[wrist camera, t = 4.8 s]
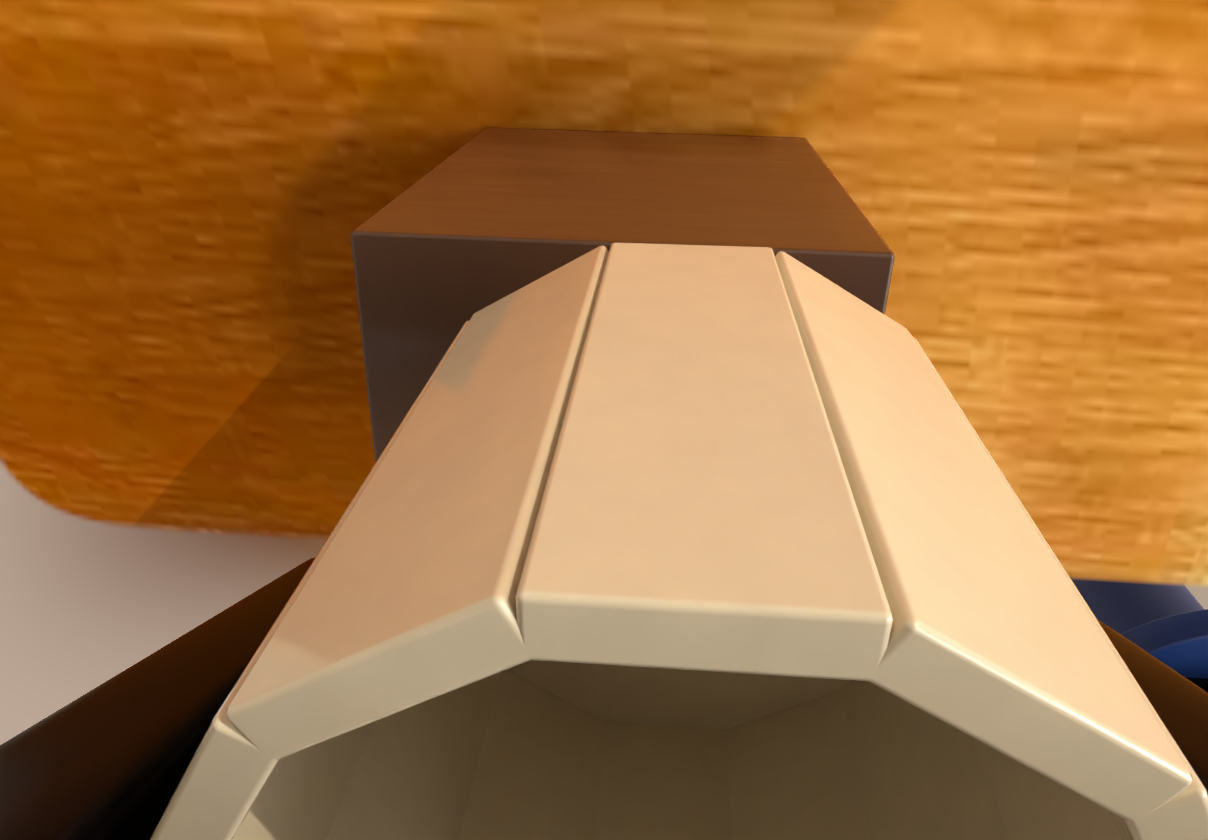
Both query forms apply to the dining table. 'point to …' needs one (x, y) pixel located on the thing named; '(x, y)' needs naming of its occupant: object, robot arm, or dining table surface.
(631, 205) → the stand
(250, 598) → the robot arm
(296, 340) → the dining table surface
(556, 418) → the cream cup
